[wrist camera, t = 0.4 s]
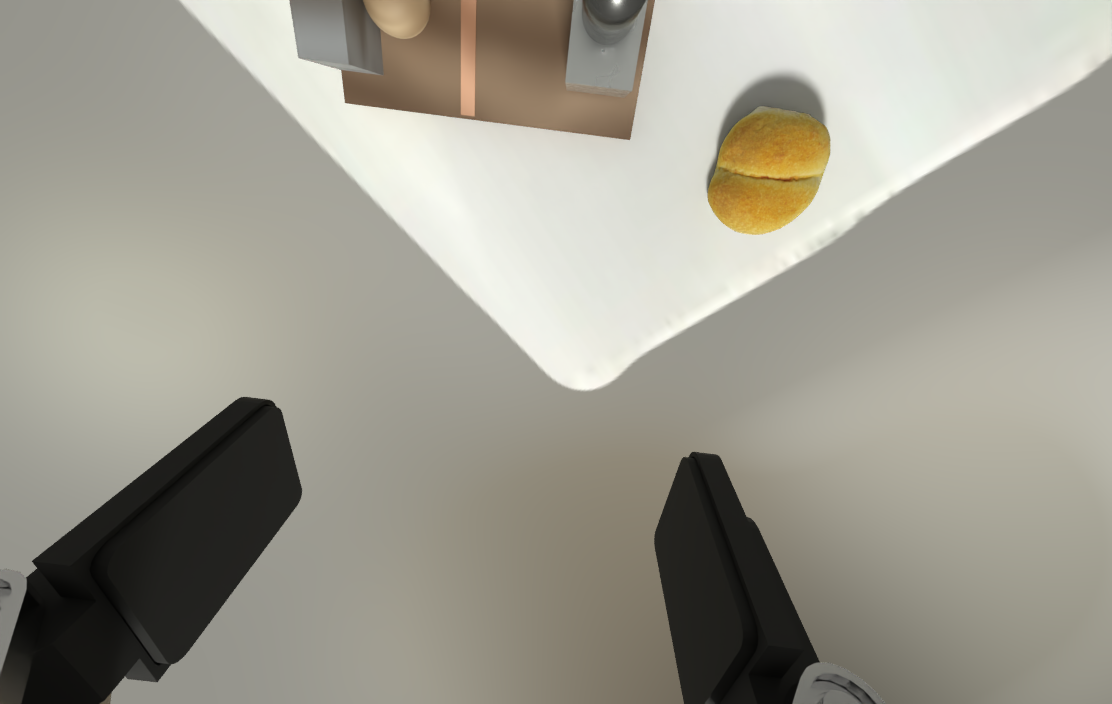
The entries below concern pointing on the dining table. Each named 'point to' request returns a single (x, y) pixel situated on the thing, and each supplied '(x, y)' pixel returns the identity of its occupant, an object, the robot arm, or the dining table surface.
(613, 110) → the base
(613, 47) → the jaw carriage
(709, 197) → the bread roll
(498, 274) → the dining table surface
